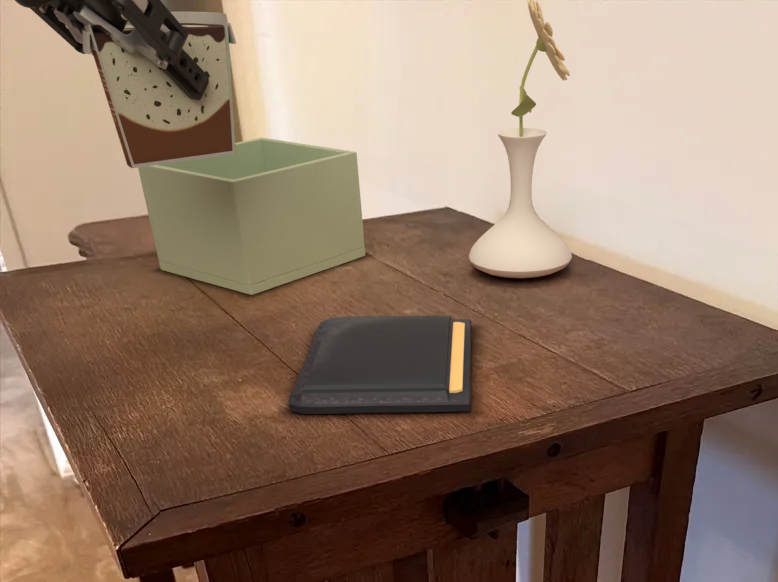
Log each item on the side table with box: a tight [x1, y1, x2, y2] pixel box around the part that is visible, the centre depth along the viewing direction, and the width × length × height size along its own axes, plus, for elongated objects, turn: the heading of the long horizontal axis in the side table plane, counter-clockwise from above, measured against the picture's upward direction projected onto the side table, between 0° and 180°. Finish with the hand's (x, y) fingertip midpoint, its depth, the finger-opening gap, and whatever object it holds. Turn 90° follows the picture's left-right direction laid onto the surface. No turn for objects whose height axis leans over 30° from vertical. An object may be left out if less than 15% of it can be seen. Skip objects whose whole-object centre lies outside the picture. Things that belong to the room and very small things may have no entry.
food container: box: [82, 11, 237, 169], centre depth 76 cm, size 12×6×10 cm, turn 129°
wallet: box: [288, 315, 472, 415], centre depth 80 cm, size 20×2×15 cm
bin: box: [137, 137, 366, 296], centre depth 103 cm, size 16×18×11 cm
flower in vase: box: [468, 0, 573, 279], centre depth 95 cm, size 13×11×25 cm
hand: (173, 86), depth 76 cm, fingers closed on food container, 6 cm apart
